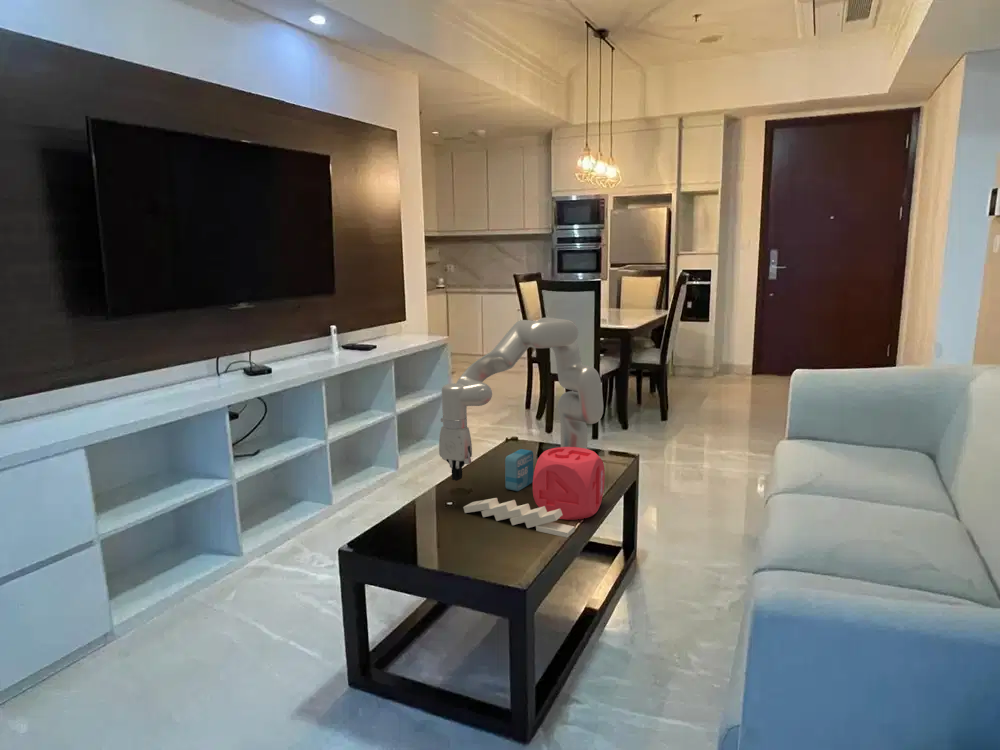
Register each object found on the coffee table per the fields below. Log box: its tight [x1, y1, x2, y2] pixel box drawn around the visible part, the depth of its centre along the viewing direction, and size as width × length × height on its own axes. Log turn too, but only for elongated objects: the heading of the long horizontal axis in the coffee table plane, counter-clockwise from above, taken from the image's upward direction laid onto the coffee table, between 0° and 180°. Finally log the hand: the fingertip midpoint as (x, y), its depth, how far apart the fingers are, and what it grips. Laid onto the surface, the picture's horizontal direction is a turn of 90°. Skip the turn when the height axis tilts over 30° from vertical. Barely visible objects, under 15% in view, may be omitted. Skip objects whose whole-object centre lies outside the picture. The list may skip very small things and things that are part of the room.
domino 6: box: [535, 521, 576, 538], centre depth 194 cm, size 2×5×10 cm
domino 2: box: [480, 499, 518, 518], centre depth 204 cm, size 2×5×10 cm
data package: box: [504, 448, 534, 492], centre depth 231 cm, size 12×4×12 cm, turn 148°
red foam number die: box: [532, 446, 606, 521], centre depth 209 cm, size 18×18×18 cm
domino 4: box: [509, 506, 547, 526], centre depth 197 cm, size 2×5×10 cm
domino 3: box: [493, 503, 532, 522], centre depth 201 cm, size 2×5×10 cm
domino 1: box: [462, 497, 500, 514], centre depth 207 cm, size 2×5×10 cm
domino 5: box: [524, 509, 563, 529], centre depth 196 cm, size 2×5×10 cm
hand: (457, 479), depth 211 cm, fingers closed
